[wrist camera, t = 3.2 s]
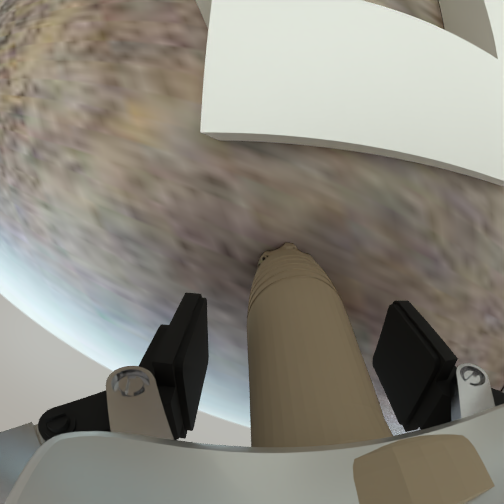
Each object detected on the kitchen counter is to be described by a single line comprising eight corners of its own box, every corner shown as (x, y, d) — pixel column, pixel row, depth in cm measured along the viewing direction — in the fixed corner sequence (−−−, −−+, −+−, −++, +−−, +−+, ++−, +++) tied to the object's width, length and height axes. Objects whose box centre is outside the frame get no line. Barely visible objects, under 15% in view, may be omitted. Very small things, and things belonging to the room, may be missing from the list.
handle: (220, 288, 17) (152, 560, 3) (282, 198, 15) (427, 499, 1) (285, 326, 18) (312, 575, 4) (349, 246, 16) (521, 476, 2)
